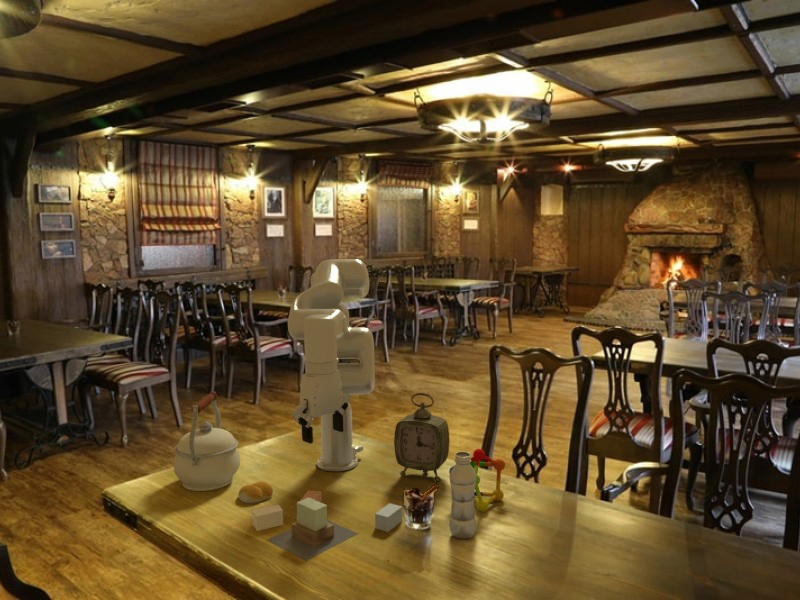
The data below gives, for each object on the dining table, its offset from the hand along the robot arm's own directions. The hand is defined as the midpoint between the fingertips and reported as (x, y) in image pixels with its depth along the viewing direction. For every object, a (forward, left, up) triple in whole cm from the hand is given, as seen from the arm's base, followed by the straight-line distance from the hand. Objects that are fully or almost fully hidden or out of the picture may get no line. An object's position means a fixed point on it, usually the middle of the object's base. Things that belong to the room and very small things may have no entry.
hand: (323, 436), depth 153 cm
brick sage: (+7, +3, -19) cm, 20 cm away
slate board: (+7, +3, -23) cm, 24 cm away
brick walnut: (+7, +3, -22) cm, 23 cm away
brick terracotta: (-2, -8, -23) cm, 25 cm away
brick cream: (+10, -10, -23) cm, 27 cm away
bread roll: (0, -28, -24) cm, 36 cm away
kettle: (+2, -48, -23) cm, 53 cm away
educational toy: (-35, +20, -23) cm, 47 cm away
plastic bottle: (-18, +28, -23) cm, 41 cm away
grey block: (-9, +12, -23) cm, 28 cm away
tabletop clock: (-40, -2, -23) cm, 47 cm away
